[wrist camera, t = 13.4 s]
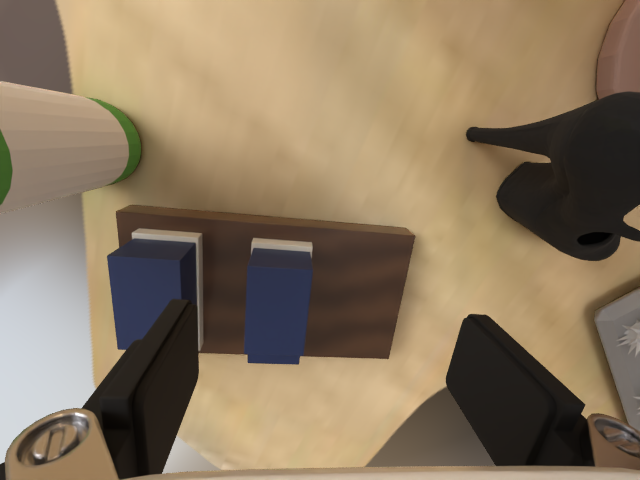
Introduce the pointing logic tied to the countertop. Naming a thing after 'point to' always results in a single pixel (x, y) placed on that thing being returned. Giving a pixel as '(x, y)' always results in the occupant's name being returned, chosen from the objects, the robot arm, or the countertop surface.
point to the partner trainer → (154, 280)
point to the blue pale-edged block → (277, 300)
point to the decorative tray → (623, 349)
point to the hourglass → (620, 53)
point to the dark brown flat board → (327, 281)
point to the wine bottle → (60, 145)
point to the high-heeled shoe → (575, 175)
